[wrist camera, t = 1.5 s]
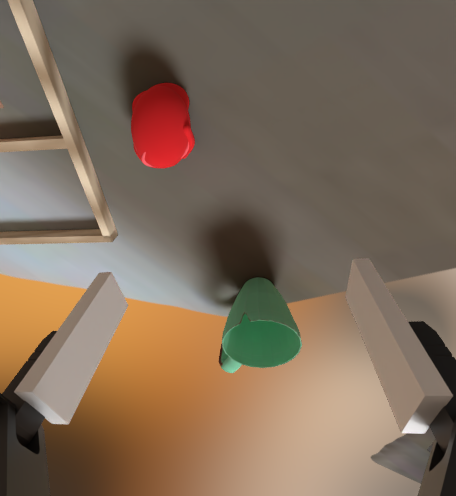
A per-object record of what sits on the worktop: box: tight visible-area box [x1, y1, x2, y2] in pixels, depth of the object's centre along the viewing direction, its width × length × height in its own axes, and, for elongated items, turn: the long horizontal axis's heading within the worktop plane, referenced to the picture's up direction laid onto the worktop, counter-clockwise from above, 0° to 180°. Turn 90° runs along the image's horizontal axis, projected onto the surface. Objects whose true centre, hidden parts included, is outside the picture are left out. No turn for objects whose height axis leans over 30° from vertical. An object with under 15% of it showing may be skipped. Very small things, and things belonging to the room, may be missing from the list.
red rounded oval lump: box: [131, 83, 195, 168], centre depth 25 cm, size 8×6×6 cm
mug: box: [219, 277, 302, 373], centre depth 37 cm, size 15×10×10 cm
